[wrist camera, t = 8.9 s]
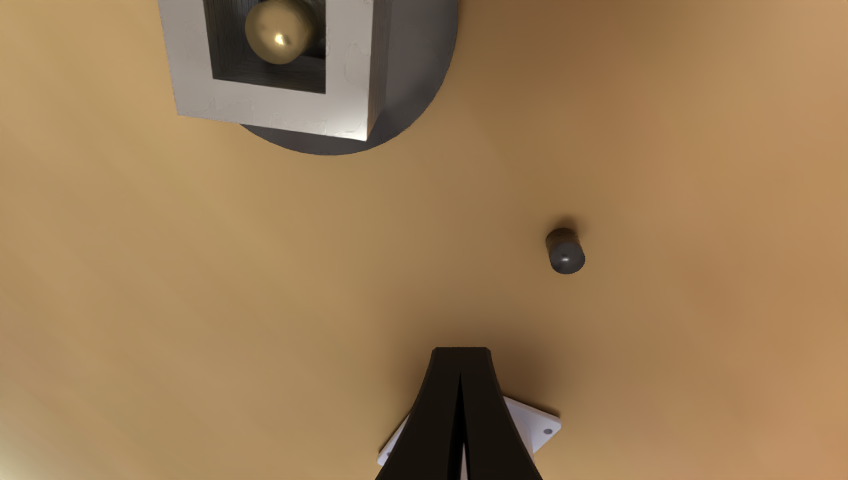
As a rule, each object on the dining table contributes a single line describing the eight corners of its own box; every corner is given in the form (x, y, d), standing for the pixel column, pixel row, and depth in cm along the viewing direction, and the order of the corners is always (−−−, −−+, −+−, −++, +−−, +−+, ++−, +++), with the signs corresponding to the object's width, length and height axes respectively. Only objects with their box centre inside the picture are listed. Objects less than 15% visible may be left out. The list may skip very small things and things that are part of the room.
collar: (385, 101, 17) (366, 140, 14) (233, 80, 17) (177, 114, 14) (398, -84, 14) (377, -90, 11) (213, -109, 14) (136, -124, 11)
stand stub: (565, 258, 22) (572, 278, 20) (539, 247, 21) (544, 266, 20) (584, 236, 21) (591, 255, 20) (557, 223, 21) (563, 241, 19)
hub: (390, 184, 20) (373, 241, 16) (156, 76, 18) (76, 112, 15) (513, -67, 15) (530, -69, 11) (205, -251, 13) (102, -326, 9)
